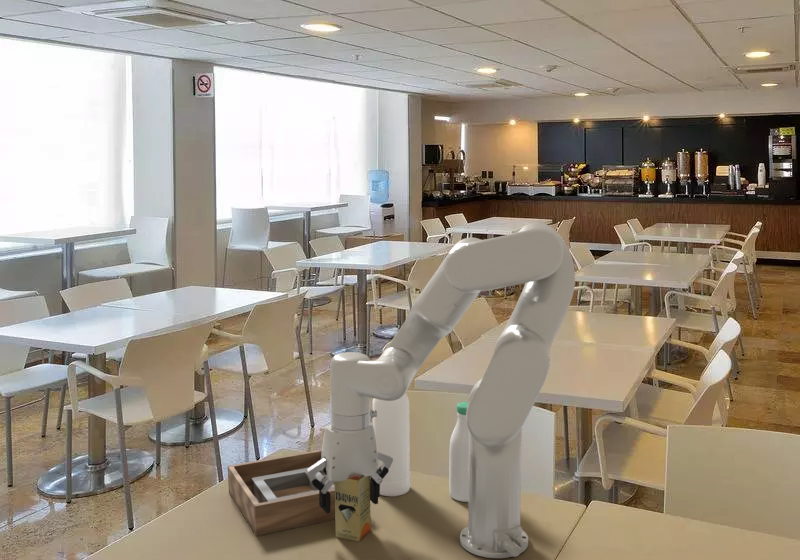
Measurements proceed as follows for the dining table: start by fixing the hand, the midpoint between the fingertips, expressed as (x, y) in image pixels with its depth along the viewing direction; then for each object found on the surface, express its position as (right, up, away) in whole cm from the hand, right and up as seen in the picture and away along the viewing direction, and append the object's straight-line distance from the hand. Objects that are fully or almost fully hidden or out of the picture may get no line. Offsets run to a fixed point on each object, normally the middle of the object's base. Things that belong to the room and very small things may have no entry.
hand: (349, 505), depth 150 cm
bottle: (+8, -2, +21) cm, 22 cm away
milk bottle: (+24, -3, +17) cm, 29 cm away
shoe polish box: (+1, -6, +1) cm, 6 cm away
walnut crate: (-12, -3, +14) cm, 19 cm away
